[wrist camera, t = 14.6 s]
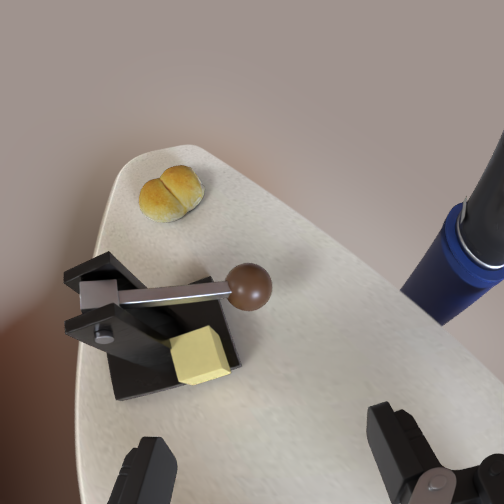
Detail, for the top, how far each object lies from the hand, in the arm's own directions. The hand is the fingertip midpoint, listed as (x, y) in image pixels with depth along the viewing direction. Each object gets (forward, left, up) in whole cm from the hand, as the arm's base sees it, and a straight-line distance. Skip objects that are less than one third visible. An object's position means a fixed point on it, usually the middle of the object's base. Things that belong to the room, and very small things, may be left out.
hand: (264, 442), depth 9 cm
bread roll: (+4, -30, -17) cm, 35 cm away
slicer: (+9, -11, -17) cm, 22 cm away
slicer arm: (+4, -11, -10) cm, 16 cm away
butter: (+5, -8, -15) cm, 18 cm away
